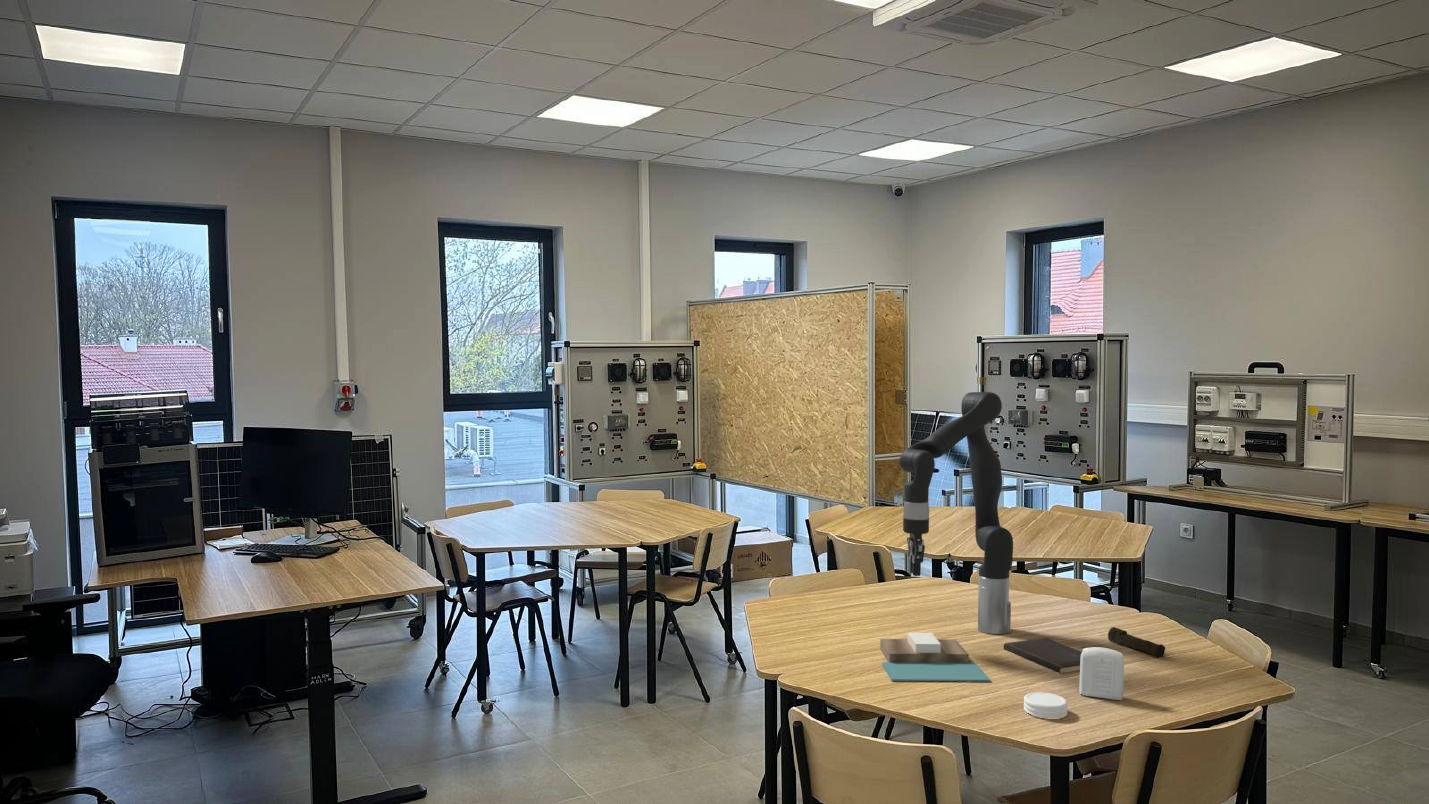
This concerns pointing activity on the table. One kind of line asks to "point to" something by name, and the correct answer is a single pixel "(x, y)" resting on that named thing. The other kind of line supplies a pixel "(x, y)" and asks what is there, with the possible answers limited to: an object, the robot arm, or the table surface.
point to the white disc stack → (1045, 705)
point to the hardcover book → (1047, 654)
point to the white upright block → (1101, 673)
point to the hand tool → (1135, 642)
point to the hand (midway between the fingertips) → (915, 574)
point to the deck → (904, 653)
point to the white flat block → (924, 643)
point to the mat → (934, 671)
